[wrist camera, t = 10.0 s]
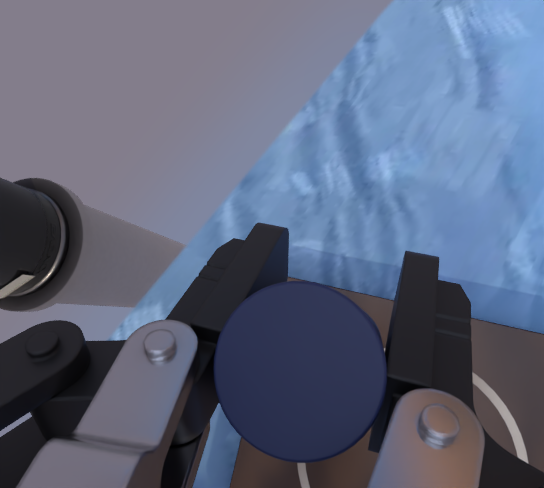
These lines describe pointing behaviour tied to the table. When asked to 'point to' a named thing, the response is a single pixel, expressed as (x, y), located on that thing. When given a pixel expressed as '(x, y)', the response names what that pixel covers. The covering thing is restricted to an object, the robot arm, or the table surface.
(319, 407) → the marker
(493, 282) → the table surface
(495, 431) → the brown wooden board
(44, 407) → the robot arm
